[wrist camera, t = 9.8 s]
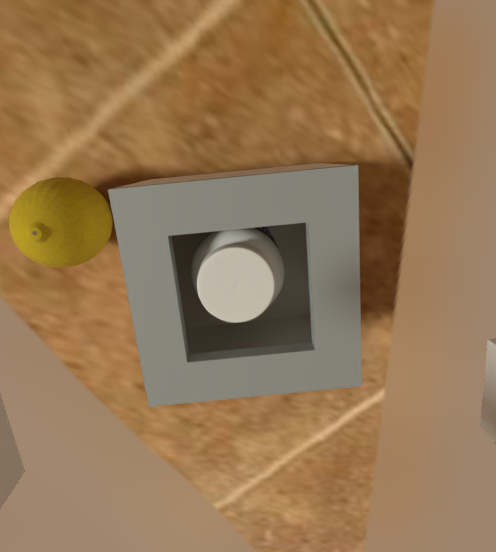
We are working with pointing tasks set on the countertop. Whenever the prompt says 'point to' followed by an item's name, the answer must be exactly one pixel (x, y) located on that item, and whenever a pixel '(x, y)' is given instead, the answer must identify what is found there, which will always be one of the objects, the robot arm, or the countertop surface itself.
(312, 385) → the drop box
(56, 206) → the lemon
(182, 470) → the countertop surface
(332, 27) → the countertop surface
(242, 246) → the pill bottle
